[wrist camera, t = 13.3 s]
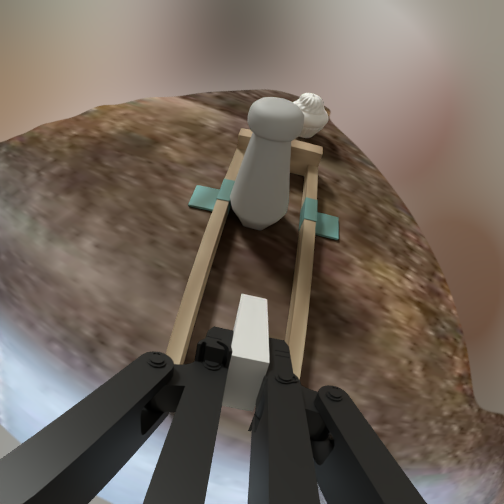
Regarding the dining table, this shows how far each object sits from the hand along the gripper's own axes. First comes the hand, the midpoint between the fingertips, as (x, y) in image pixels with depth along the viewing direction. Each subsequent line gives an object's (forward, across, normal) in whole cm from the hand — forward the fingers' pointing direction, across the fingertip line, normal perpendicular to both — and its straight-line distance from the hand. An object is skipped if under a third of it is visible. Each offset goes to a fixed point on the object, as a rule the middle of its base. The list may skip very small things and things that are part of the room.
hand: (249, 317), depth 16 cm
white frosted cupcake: (+28, +3, +18) cm, 33 cm away
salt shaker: (+15, -1, +5) cm, 15 cm away
